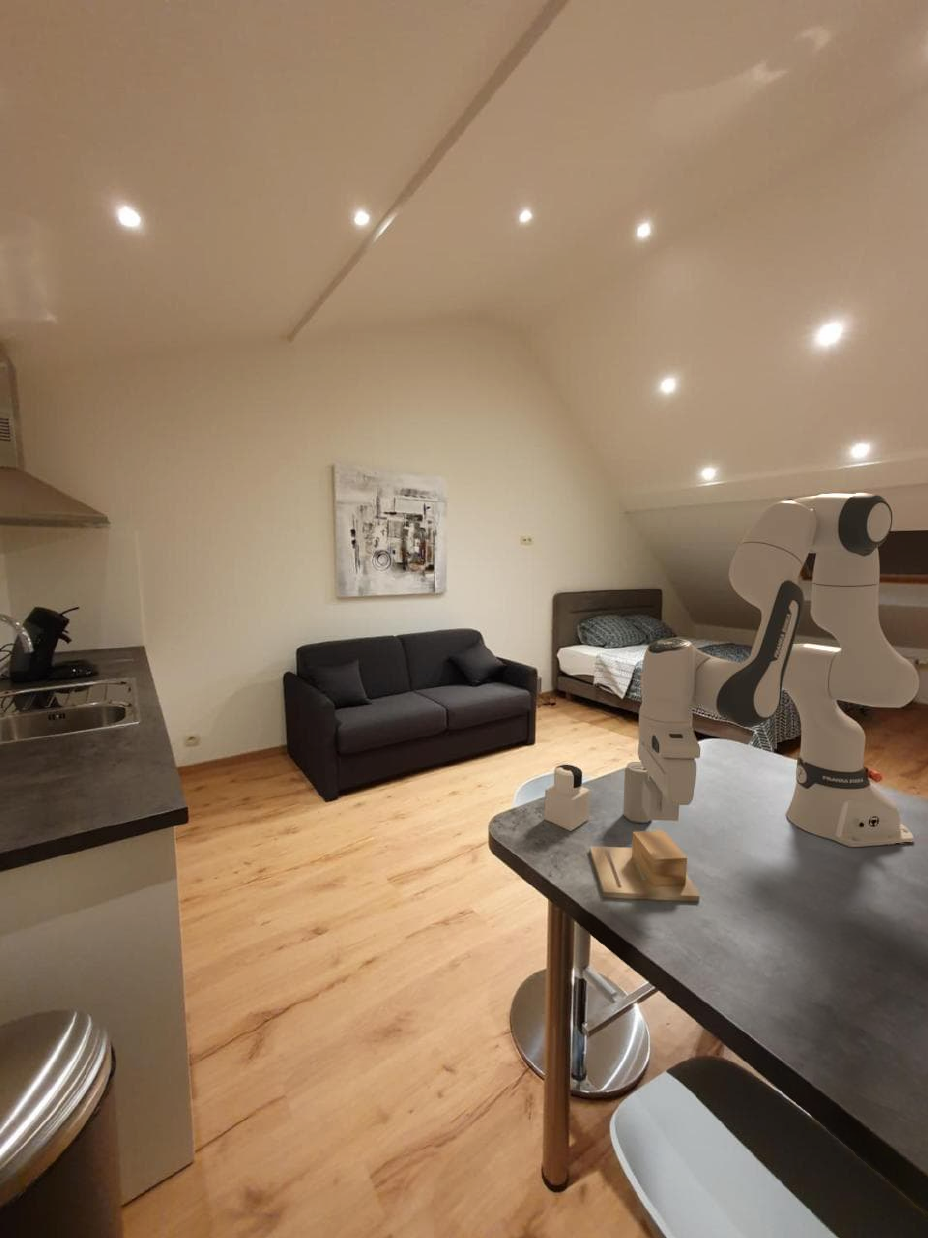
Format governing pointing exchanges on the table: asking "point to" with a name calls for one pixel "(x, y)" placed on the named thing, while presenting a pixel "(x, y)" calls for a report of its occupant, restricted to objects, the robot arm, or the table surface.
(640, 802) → the beverage can
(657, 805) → the top cube
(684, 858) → the oak block
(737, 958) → the table surface
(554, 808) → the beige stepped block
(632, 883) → the plate
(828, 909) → the table surface
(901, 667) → the robot arm
